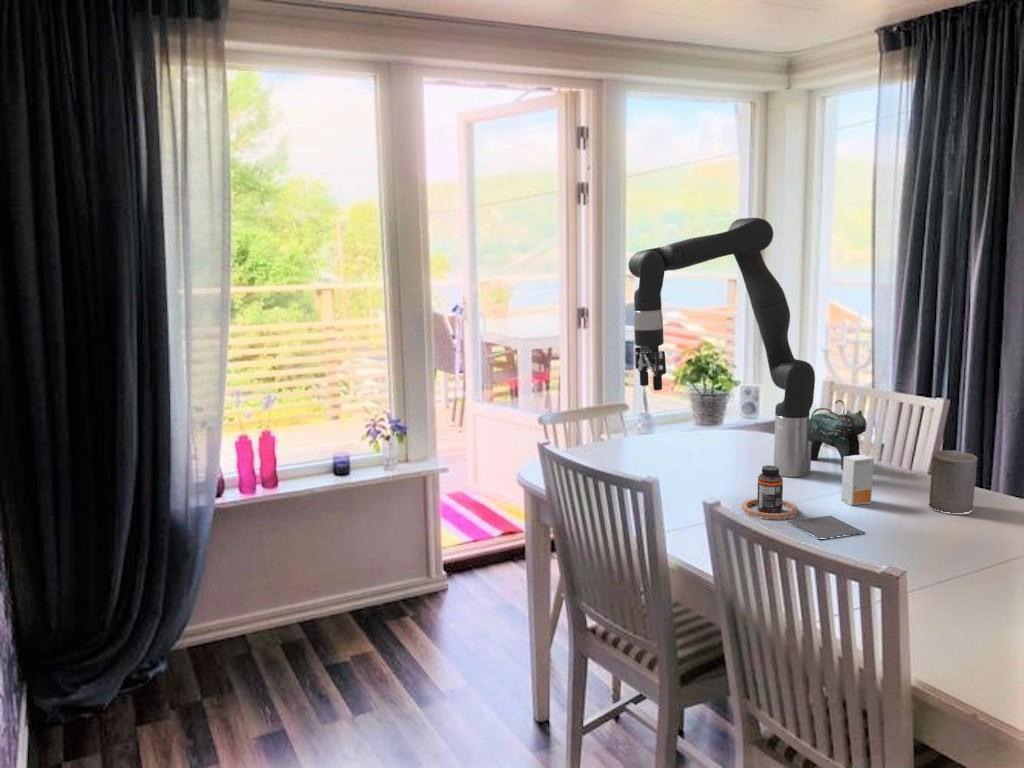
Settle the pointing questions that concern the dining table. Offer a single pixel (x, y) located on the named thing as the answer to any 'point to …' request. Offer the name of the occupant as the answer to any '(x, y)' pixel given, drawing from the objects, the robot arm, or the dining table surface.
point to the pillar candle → (953, 481)
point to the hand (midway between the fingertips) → (650, 387)
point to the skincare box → (857, 479)
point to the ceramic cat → (836, 432)
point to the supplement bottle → (770, 490)
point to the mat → (825, 527)
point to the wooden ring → (768, 515)
